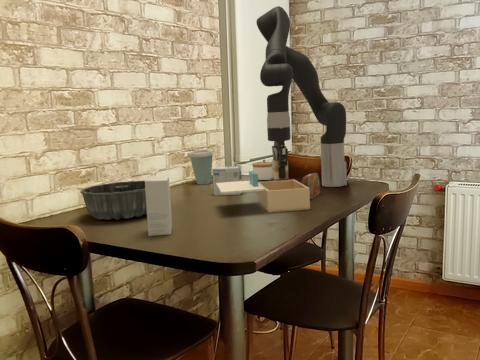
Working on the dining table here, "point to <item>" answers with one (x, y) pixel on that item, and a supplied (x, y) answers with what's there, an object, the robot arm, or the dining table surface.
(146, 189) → the skincare box
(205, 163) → the disposable coffee cup
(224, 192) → the lid
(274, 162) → the birch block
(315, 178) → the brown flat slab
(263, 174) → the lidded jar
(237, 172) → the light bulb box
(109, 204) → the bundt pan
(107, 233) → the dining table surface
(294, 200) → the box
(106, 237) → the dining table surface
